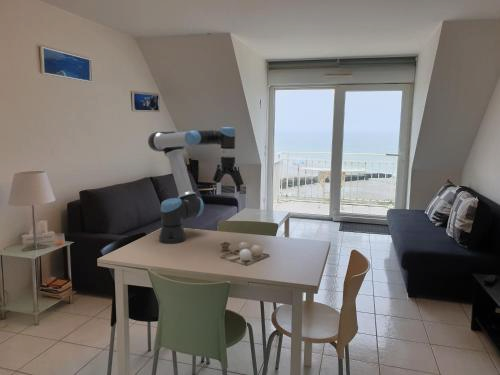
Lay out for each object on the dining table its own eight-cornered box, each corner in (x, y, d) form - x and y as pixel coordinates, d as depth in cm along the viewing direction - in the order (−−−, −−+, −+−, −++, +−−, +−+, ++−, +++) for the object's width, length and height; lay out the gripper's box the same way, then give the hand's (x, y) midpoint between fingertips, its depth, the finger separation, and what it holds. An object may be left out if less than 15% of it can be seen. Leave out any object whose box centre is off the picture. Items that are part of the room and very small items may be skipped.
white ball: (244, 258, 195) (244, 246, 195) (254, 260, 192) (253, 248, 191) (236, 261, 191) (236, 249, 190) (246, 264, 187) (245, 251, 186)
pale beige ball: (235, 253, 203) (235, 242, 202) (243, 250, 207) (243, 239, 206) (244, 255, 199) (244, 244, 198) (251, 253, 204) (252, 241, 203)
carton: (219, 258, 196) (219, 255, 196) (242, 250, 209) (242, 247, 209) (246, 266, 185) (246, 263, 185) (269, 257, 198) (269, 254, 198)
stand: (218, 252, 207) (218, 243, 206) (225, 249, 211) (225, 241, 210) (225, 254, 203) (225, 245, 203) (232, 251, 207) (232, 243, 206)
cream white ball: (248, 256, 197) (248, 245, 196) (255, 254, 202) (255, 242, 201) (257, 259, 194) (257, 247, 193) (265, 256, 198) (265, 244, 197)
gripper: (206, 155, 216) (206, 193, 219) (240, 158, 200) (240, 200, 203) (216, 154, 221) (216, 192, 225) (250, 157, 205) (249, 198, 209)
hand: (227, 196), depth 214 cm, fingers open, 13 cm apart
